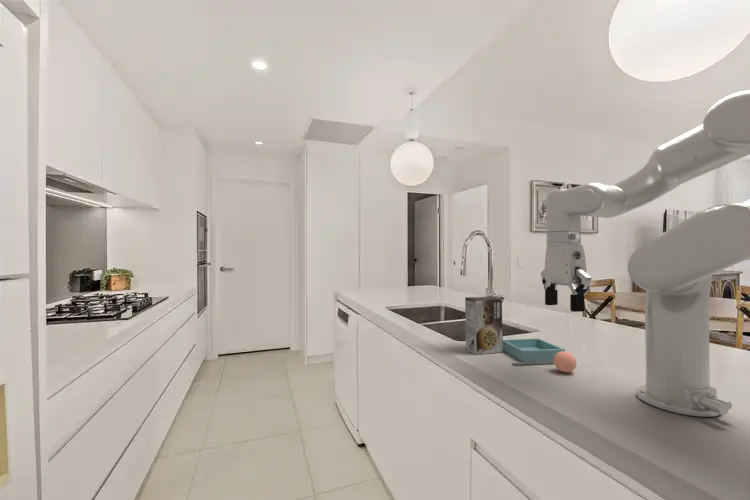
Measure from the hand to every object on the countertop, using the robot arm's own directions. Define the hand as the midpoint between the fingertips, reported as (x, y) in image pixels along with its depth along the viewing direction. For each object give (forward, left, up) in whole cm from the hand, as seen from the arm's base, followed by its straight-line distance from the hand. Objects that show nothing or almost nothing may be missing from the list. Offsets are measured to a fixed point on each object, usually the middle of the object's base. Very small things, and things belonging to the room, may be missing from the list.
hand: (563, 307), depth 85 cm
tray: (+14, 0, -16) cm, 21 cm away
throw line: (+6, +2, -16) cm, 17 cm away
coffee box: (+20, +12, -16) cm, 28 cm away
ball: (0, 0, -13) cm, 13 cm away
